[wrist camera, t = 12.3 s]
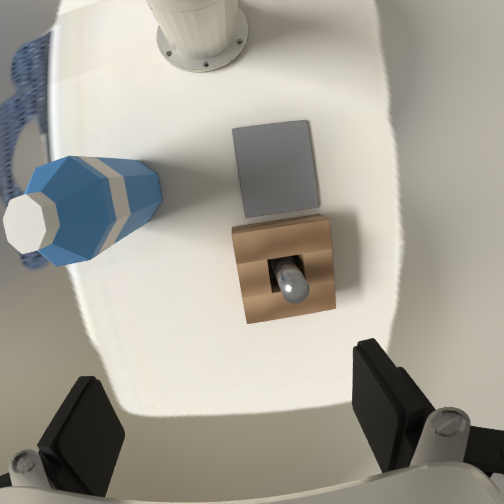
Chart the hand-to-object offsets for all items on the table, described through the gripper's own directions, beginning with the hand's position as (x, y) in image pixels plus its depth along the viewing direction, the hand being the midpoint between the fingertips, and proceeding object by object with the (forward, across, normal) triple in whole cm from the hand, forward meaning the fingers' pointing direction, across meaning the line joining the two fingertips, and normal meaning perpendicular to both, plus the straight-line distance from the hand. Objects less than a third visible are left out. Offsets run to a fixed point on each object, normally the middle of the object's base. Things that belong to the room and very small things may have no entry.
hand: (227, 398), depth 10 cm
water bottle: (+34, +13, -7) cm, 38 cm away
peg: (+34, -6, +6) cm, 35 cm away
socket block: (+34, -6, +6) cm, 35 cm away
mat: (+34, -7, -7) cm, 36 cm away
